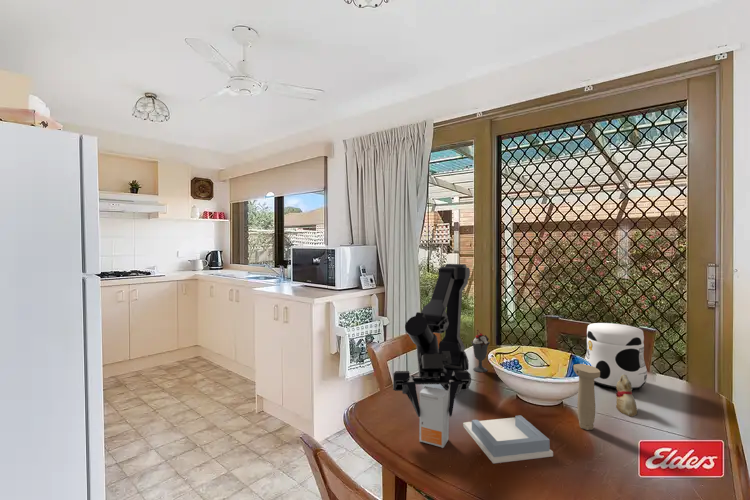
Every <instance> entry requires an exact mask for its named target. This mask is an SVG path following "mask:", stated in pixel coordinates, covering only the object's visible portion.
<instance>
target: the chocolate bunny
mask: <svg viewBox="0 0 750 500" xmlns="http://www.w3.org/2000/svg"><path fill="white" fill-rule="evenodd" d="M631 386H632V385H631V382H630V381H629V379H628V377H627V375H621V377H620V380H619V381H618V382H617V386H616V388H615V389H616V391H617V392H615V399H616V405H615V408H616V410H617V411H618V412H619V413H620V414H622V415H625V416H628V417H631V418H632V417H635V416H637V415H638V407H637V403H636V399H635V398H634V396H633V391H632V390H633V389H632V387H631Z"/></svg>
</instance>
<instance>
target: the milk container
mask: <svg viewBox="0 0 750 500" xmlns="http://www.w3.org/2000/svg"><path fill="white" fill-rule="evenodd" d="M644 335H645V334H644V330H643V329H641V328H639V327H635V326H632V325H628V324H622V323H621V324H620V323H611V322H595V323H589V324H588V325H587V328H586V354H585V356H584V359H586V360H587V361H589V362H590V363H591V365H592V366H593V367H595V368H597V369H598V370H599V371H600V377H598V378H595V379H594V384H598V385H600V386H604V387H608V388H612V389H617V388H616V386H617V382H618V381H619V380H620V377H621V375H627V377H628V379H629V381H630V382H631V385H632V386H631V387H632V390H637V389H639V388H642V387H643V386H644V385H645V384H646V383H647V379H648V378H647V377H648V369H647V366H646V362H645V359H644V356H645V355H644V353H645V352H644V351H645V344H644V341H645V336H644Z"/></svg>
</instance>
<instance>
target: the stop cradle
mask: <svg viewBox="0 0 750 500" xmlns="http://www.w3.org/2000/svg"><path fill="white" fill-rule="evenodd" d="M462 425H463V426H462V427H463V428H464V429H465V430H466V432H467V433H468V434H469V436H470V437H471V439H473V440H474V442H475V443H476V444H477V445H478V447H479V448H480V449H481V451H482V452H483V453H484V455H485V456H486V457H487V458H488V460H490V461H491V463H492V464H500V463H509V462H518V461H525V460H533V459H542V458H549V457H550V458H551V457H554V451H553V450H552V449H550V448H551V447H550V444H551V443H550V440H551V439H549V437H547V436H546V435H545V434H544V433H542V432H541V431H540V430H539V429H538V428H536V426H534V425H533V424H532V423H531V422H530V421H528V420H527V419H526V418H525V417H523V416H522V414H521V415H515V417H507V418H496V419H486V420H479V419H471V421H466V422H463V423H462Z"/></svg>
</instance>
